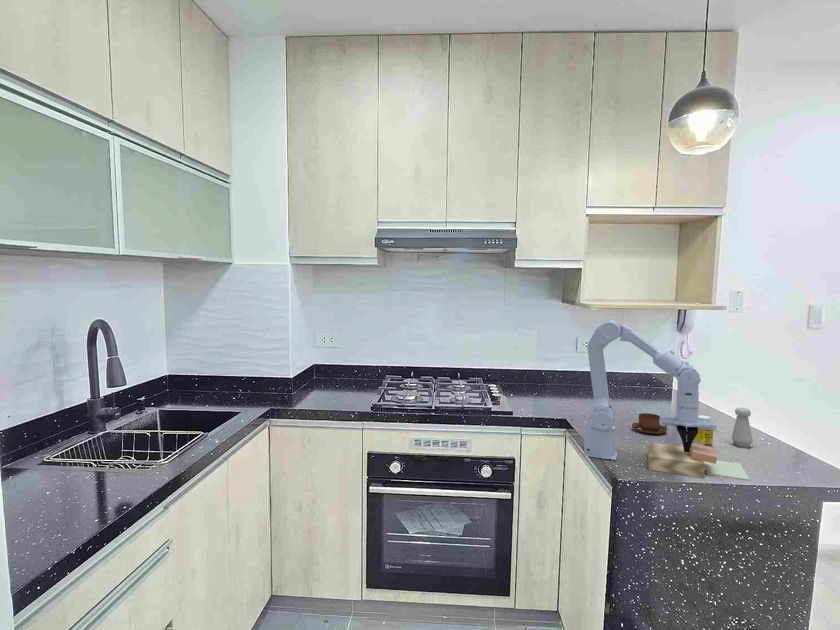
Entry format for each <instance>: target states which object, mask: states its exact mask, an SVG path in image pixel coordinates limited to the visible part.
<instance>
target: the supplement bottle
mask: <svg viewBox="0 0 840 630" xmlns="http://www.w3.org/2000/svg"><path fill="white" fill-rule="evenodd" d="M698 421H704V422H710V423H711V417H710V416H709V415H708V416H707V415H702V414H700V415H699V414H698ZM713 437H714V431H712V430H706V429H698V433H697V435H696V437H695V438H694V440H693V442H692V443H694V444H699V445H703V446H708V447H712V448H713V446H714V445H713V440H714V438H713Z"/></svg>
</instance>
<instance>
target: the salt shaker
mask: <svg viewBox="0 0 840 630" xmlns="http://www.w3.org/2000/svg"><path fill="white" fill-rule="evenodd" d="M734 413H735V415H736V418H735V423H734V426H733V430H732V434H731V441H732V442H733V444H734V446H735V447H737V448H743V449H749V448H750V446H751V445H752V444H753V441H754V440H753V439H754V438H753V435H752V431H751V426H750V419H749V417H751V415H752V411H751V410H750V409H749V408H746V407H737V408H735V409H734Z"/></svg>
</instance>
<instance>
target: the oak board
mask: <svg viewBox="0 0 840 630" xmlns="http://www.w3.org/2000/svg"><path fill="white" fill-rule="evenodd" d="M647 462H648V465H647V466H648V470H649V471H657V472H662V473H669V474H675V475H683V476H690V477H695V478H701V479H702V478H703V479H705V477H706V476H705V474H706V473H705V472H706V470H705V463H704V461H701V460H697V459H692V458H691V455H690V452H684V448H683V445H682V446H680V445H672V444H666V443H665V444H664V443H657V442H648V441H647Z"/></svg>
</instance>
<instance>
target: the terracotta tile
mask: <svg viewBox="0 0 840 630" xmlns="http://www.w3.org/2000/svg"><path fill="white" fill-rule="evenodd" d="M713 448H714V447H713V446H712V447H708V446H703V445H699V444H694V443H693V442H692V444H691V447H690V455H691V458H692V459H697V460H701V461H705V462H709V463H714V464H716V460H717V459H718V456H717V455H716V452H715V450H714V449H713Z"/></svg>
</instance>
